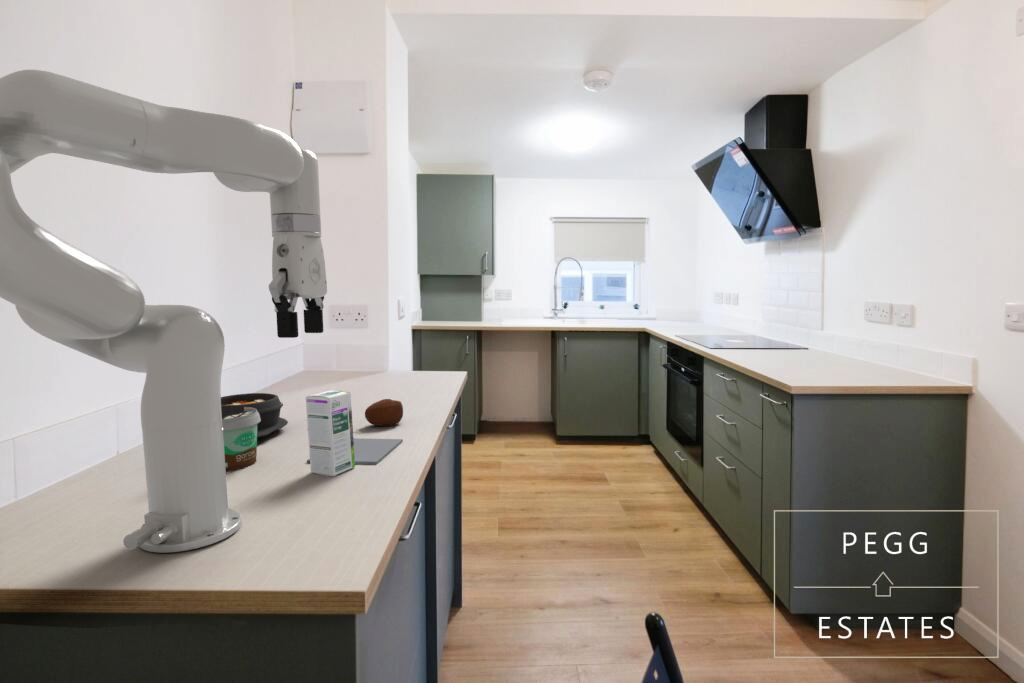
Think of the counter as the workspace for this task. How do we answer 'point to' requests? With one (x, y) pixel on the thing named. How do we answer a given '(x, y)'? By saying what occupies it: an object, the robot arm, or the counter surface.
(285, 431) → the counter surface
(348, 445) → the syrup box
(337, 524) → the counter surface
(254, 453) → the food container
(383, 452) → the mat
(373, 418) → the potato
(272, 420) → the casserole
